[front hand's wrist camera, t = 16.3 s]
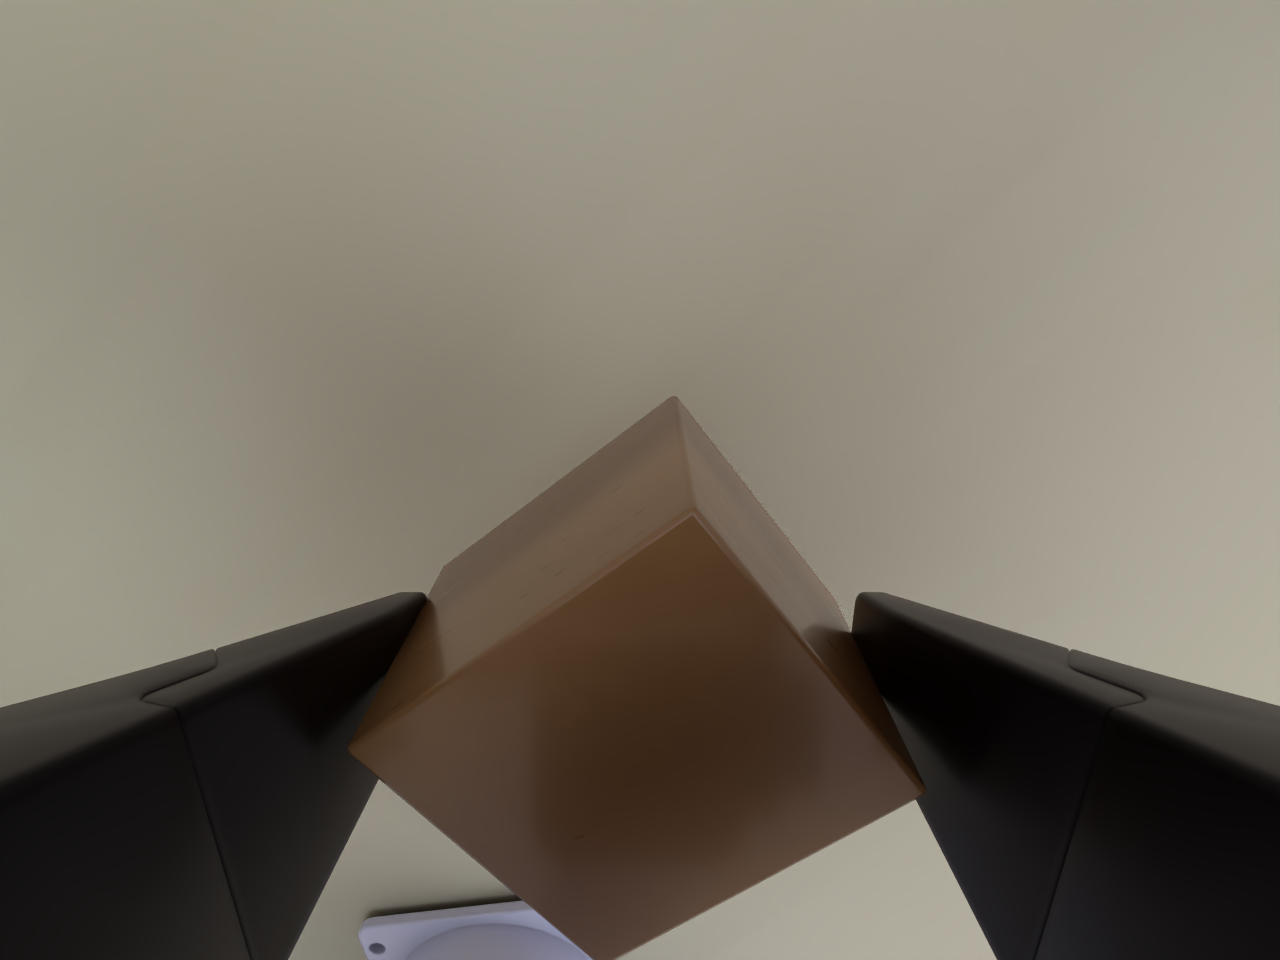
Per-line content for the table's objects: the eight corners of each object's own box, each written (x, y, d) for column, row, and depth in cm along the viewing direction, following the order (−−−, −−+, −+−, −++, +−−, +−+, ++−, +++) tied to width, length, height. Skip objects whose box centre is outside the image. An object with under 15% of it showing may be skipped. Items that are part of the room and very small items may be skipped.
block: (441, 566, 12) (341, 752, 8) (674, 392, 11) (694, 506, 7) (612, 738, 14) (600, 970, 10) (835, 599, 13) (930, 794, 8)
